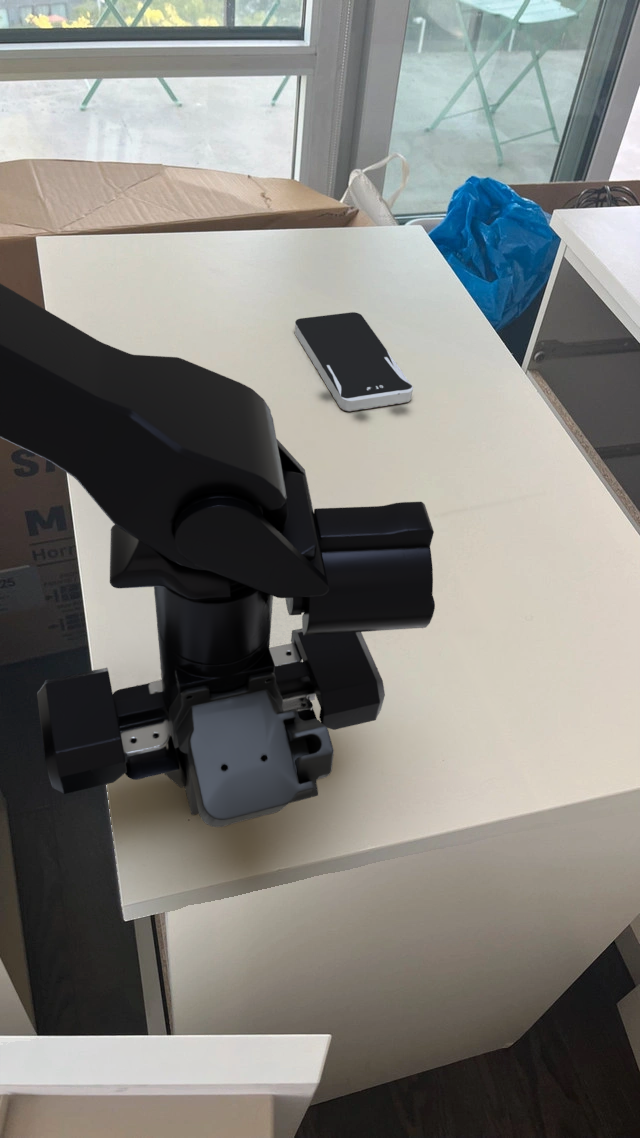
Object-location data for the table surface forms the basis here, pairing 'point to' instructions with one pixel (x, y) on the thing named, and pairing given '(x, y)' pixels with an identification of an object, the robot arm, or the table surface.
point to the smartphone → (352, 361)
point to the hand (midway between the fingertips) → (215, 772)
